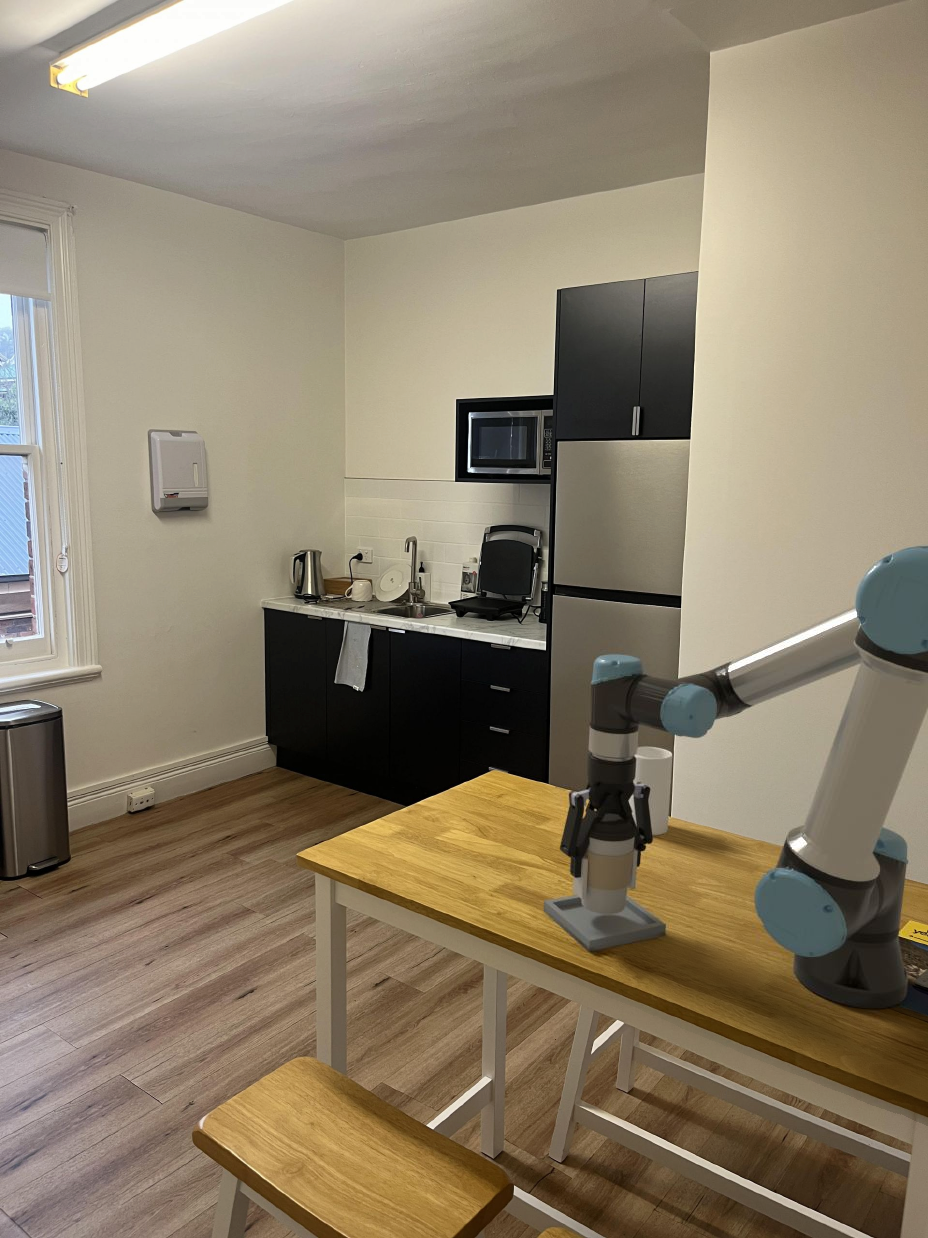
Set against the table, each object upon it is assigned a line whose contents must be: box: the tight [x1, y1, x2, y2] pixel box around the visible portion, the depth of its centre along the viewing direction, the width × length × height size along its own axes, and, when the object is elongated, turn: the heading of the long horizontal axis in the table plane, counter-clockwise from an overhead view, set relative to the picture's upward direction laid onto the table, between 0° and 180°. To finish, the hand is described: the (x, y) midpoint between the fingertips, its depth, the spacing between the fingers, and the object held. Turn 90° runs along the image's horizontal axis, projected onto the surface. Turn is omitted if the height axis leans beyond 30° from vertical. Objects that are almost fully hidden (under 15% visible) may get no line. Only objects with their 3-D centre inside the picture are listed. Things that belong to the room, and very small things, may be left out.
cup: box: [629, 746, 673, 836], centre depth 186 cm, size 8×8×16 cm
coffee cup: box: [582, 809, 637, 914], centre depth 145 cm, size 9×9×15 cm
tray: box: [543, 894, 667, 953], centre depth 146 cm, size 14×14×2 cm
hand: (604, 890), depth 146 cm, fingers closed on coffee cup, 8 cm apart
